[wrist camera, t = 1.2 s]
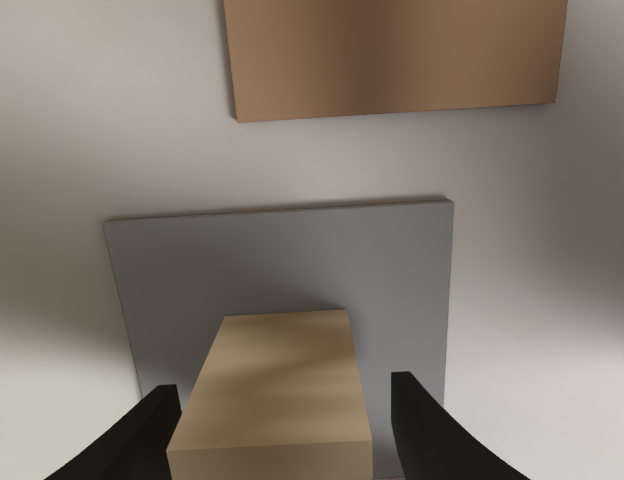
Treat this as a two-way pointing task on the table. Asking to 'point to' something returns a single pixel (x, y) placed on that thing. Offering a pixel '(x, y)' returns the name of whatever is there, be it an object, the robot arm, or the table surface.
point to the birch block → (276, 403)
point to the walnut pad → (390, 55)
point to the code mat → (292, 290)
